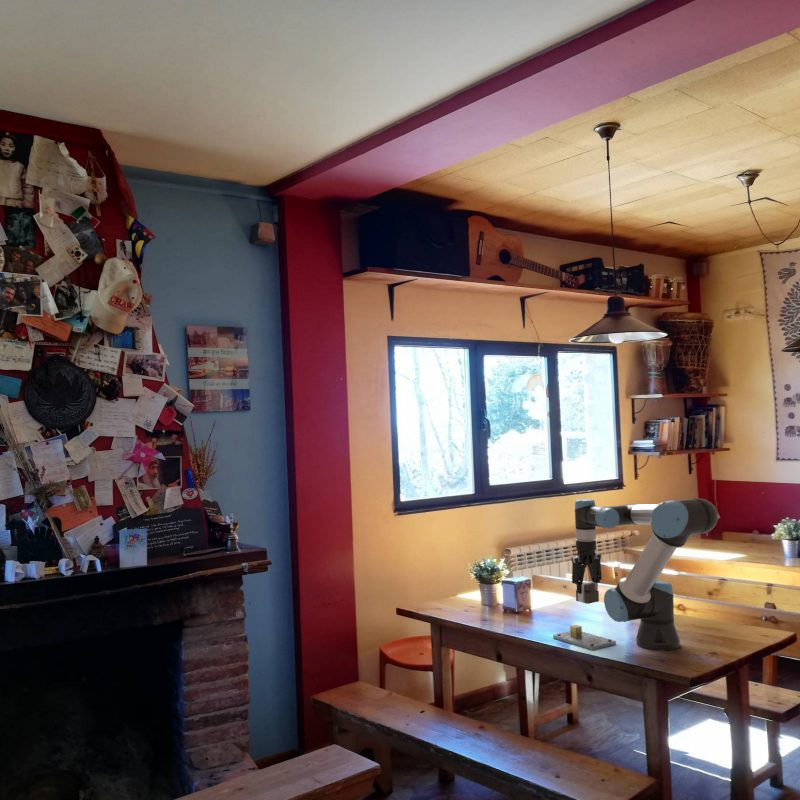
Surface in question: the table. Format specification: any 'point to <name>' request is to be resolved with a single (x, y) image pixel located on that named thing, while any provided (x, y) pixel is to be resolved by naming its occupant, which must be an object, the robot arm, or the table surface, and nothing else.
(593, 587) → the brown block
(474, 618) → the table surface
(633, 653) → the table surface
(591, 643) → the plate
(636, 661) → the table surface
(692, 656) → the table surface
